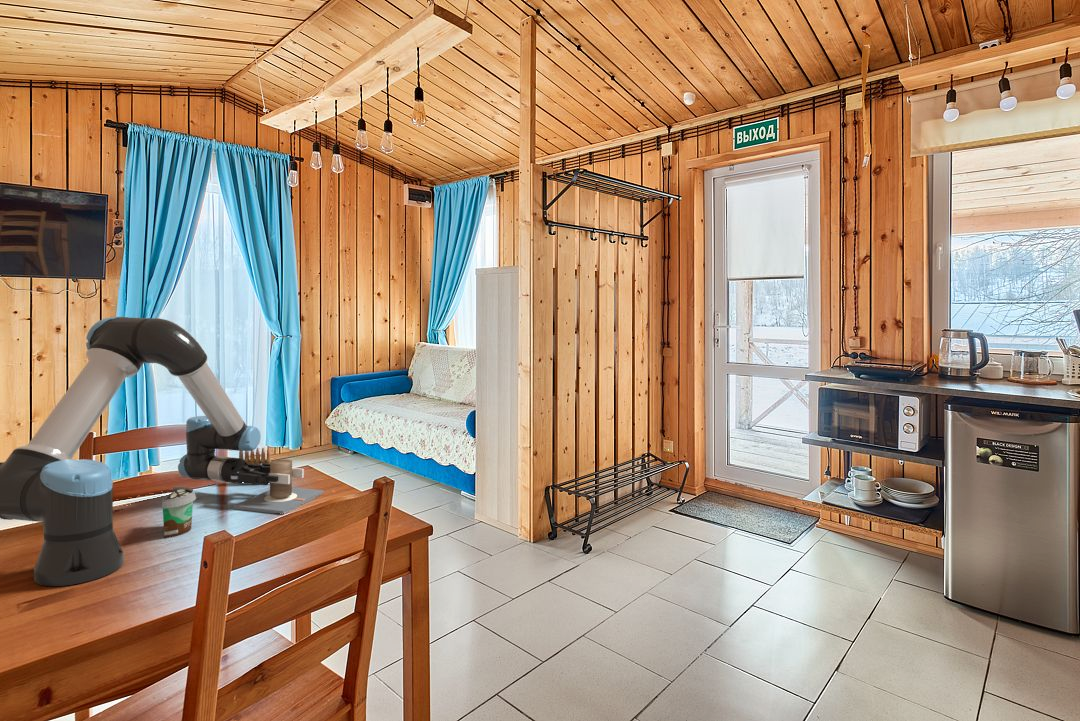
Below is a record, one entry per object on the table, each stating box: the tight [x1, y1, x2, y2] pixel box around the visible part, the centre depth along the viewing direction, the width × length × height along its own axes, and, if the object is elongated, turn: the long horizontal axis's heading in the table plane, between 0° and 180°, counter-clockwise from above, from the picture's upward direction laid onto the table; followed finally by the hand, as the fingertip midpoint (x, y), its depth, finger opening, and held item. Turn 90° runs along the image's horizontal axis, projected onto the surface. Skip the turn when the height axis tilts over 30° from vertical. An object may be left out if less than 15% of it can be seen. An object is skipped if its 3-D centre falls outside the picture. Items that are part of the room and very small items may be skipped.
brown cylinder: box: [269, 458, 293, 498], centre depth 172 cm, size 6×6×10 cm
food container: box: [161, 486, 197, 539], centre depth 147 cm, size 12×6×10 cm, turn 22°
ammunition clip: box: [238, 447, 272, 485], centre depth 188 cm, size 11×2×12 cm, turn 93°
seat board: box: [233, 486, 325, 515], centre depth 172 cm, size 20×16×1 cm
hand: (296, 476), depth 171 cm, fingers closed on brown cylinder, 6 cm apart
